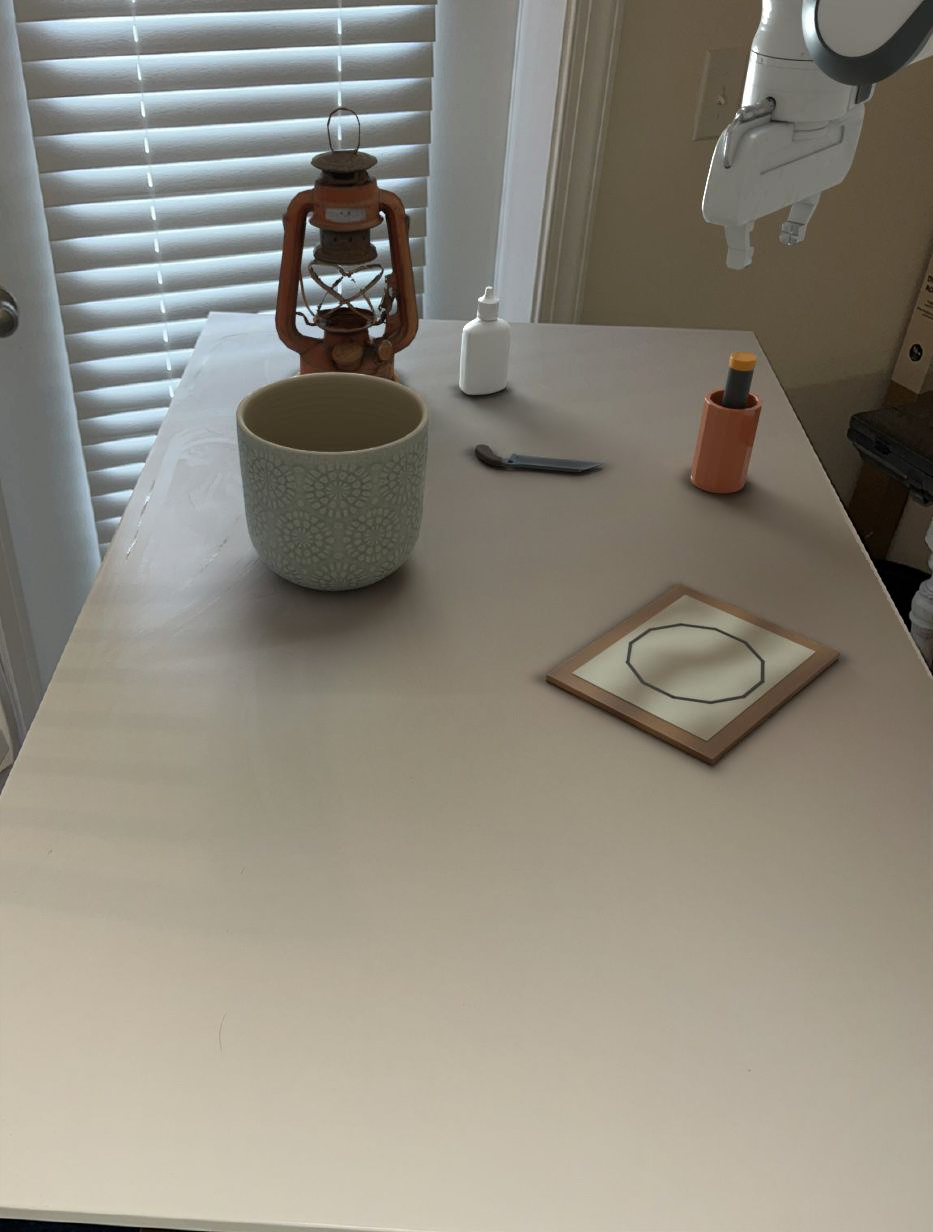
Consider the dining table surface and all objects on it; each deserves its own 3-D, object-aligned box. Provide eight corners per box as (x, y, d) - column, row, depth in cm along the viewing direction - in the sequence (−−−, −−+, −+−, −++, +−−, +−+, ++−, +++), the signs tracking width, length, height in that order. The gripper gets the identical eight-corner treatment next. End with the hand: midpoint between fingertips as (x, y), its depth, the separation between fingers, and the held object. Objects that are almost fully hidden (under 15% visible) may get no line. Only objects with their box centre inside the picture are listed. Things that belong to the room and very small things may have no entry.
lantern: (274, 405, 146) (261, 123, 127) (280, 361, 156) (270, 94, 137) (418, 405, 146) (427, 123, 126) (415, 362, 156) (424, 94, 136)
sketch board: (838, 658, 106) (841, 650, 106) (711, 765, 95) (713, 757, 95) (678, 588, 115) (680, 581, 114) (545, 679, 104) (546, 672, 104)
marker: (735, 477, 131) (761, 356, 122) (723, 485, 129) (748, 363, 121) (715, 470, 132) (739, 349, 123) (702, 478, 131) (725, 356, 122)
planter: (237, 610, 112) (225, 453, 102) (254, 519, 125) (245, 371, 115) (424, 613, 112) (431, 455, 102) (422, 521, 125) (427, 372, 115)
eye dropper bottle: (460, 380, 151) (465, 280, 143) (506, 383, 151) (514, 282, 143) (458, 395, 148) (463, 293, 140) (505, 397, 147) (513, 295, 140)
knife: (471, 465, 134) (471, 459, 133) (476, 449, 137) (476, 443, 136) (602, 477, 132) (603, 471, 131) (604, 460, 134) (605, 454, 134)
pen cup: (755, 480, 131) (773, 398, 125) (725, 499, 128) (743, 416, 122) (708, 463, 134) (724, 383, 128) (679, 481, 131) (694, 399, 125)
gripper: (766, 117, 100) (734, 291, 109) (886, 75, 111) (849, 236, 120) (698, 105, 103) (673, 275, 112) (822, 65, 114) (790, 223, 123)
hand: (765, 255), depth 116 cm, fingers open, 8 cm apart
